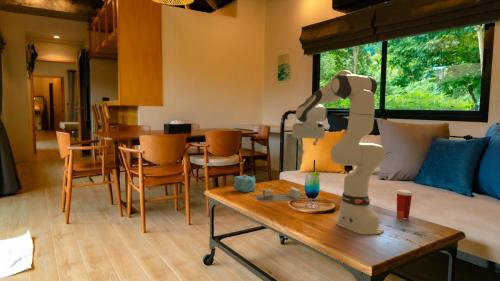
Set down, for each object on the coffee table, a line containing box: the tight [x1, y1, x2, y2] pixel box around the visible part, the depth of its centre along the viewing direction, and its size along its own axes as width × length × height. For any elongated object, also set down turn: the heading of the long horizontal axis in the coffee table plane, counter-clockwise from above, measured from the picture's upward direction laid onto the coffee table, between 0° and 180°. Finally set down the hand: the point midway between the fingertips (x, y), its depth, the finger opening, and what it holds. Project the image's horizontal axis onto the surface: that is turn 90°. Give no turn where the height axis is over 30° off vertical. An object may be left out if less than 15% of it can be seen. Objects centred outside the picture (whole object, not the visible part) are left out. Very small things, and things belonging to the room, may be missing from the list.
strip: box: [253, 186, 301, 202], centre depth 201 cm, size 11×26×6 cm, turn 107°
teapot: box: [233, 174, 256, 193], centre depth 216 cm, size 16×18×11 cm
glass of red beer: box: [395, 189, 413, 219], centre depth 172 cm, size 8×8×14 cm
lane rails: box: [249, 192, 321, 203], centre depth 202 cm, size 14×40×1 cm, turn 107°
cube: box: [262, 188, 275, 199], centre depth 199 cm, size 5×5×5 cm
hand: (307, 144), depth 210 cm, fingers open, 8 cm apart
